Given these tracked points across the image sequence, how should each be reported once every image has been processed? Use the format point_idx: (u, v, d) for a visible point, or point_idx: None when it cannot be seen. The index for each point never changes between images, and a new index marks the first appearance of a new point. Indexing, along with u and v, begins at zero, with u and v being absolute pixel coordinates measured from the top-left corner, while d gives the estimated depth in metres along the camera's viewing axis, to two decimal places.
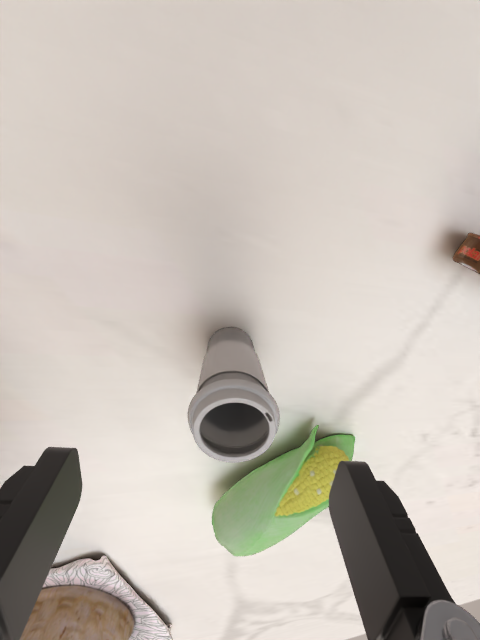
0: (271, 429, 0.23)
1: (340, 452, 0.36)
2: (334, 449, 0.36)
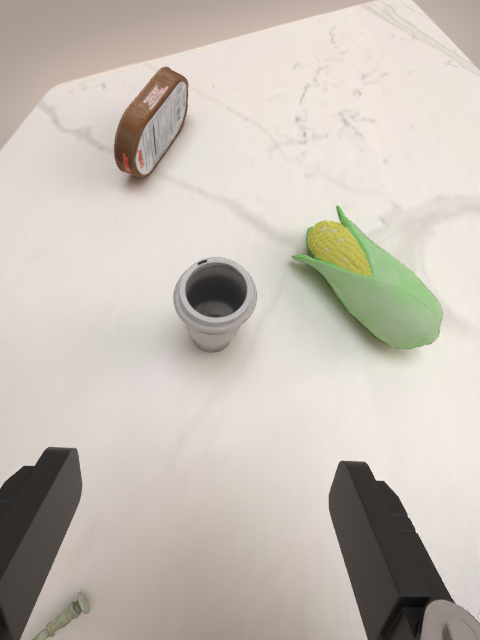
0: (215, 260, 0.28)
1: (310, 232, 0.40)
2: (308, 237, 0.40)
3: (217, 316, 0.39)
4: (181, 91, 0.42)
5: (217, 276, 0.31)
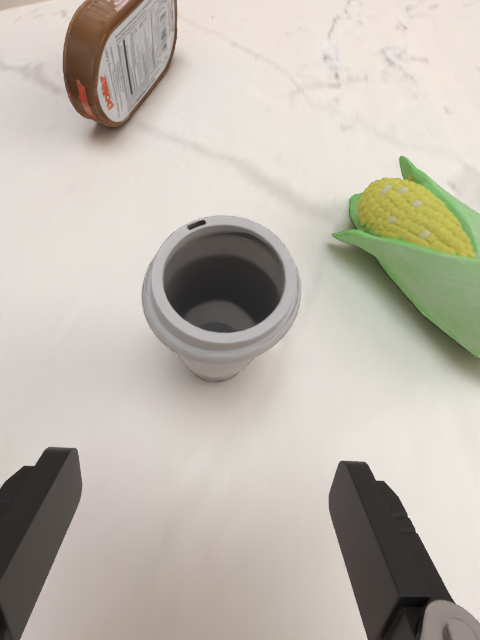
0: (222, 221, 0.14)
1: (361, 196, 0.27)
2: (358, 205, 0.27)
3: (223, 325, 0.25)
4: (167, 1, 0.29)
5: (224, 256, 0.17)
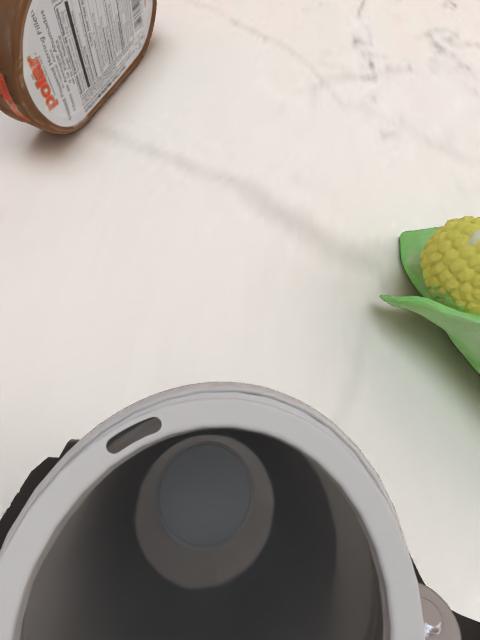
0: (208, 418, 0.05)
1: (428, 243, 0.17)
2: (424, 255, 0.17)
3: (218, 447, 0.16)
4: None
5: None
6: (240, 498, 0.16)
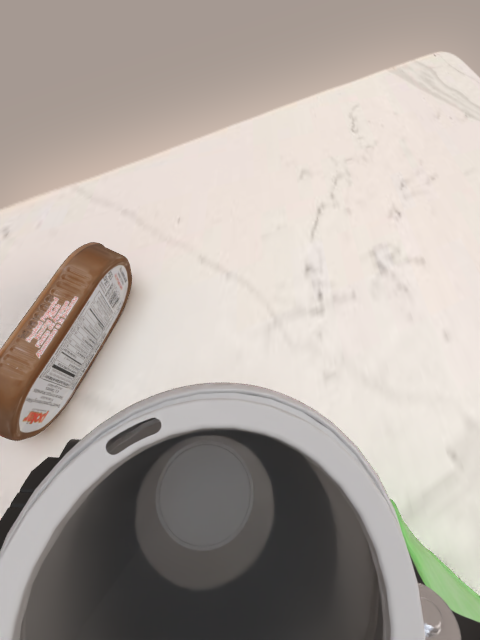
0: (208, 419, 0.05)
1: None
2: None
3: (218, 447, 0.16)
4: (113, 275, 0.25)
5: None
6: (240, 498, 0.15)
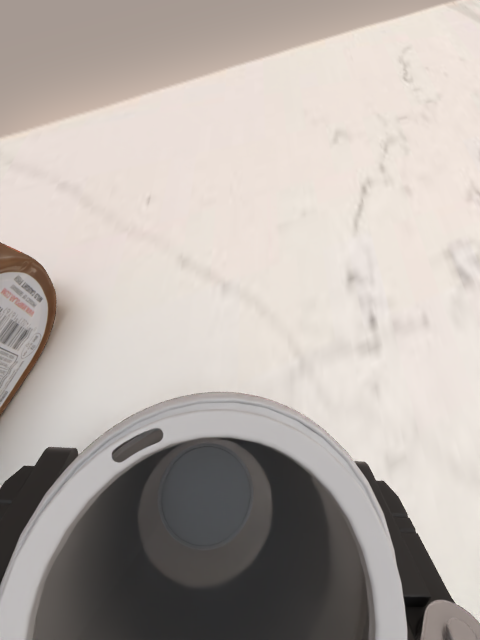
0: (206, 428, 0.06)
1: None
2: None
3: (218, 449, 0.17)
4: None
5: None
6: (239, 499, 0.16)
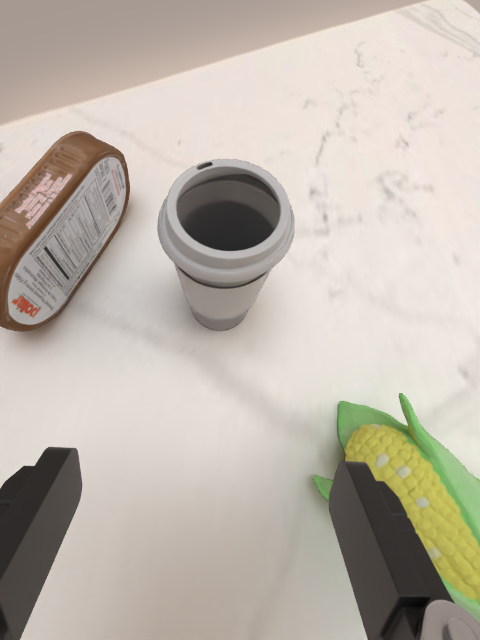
0: (227, 163, 0.17)
1: (349, 443, 0.21)
2: (346, 454, 0.21)
3: None
4: (110, 169, 0.24)
5: (227, 203, 0.20)
6: None
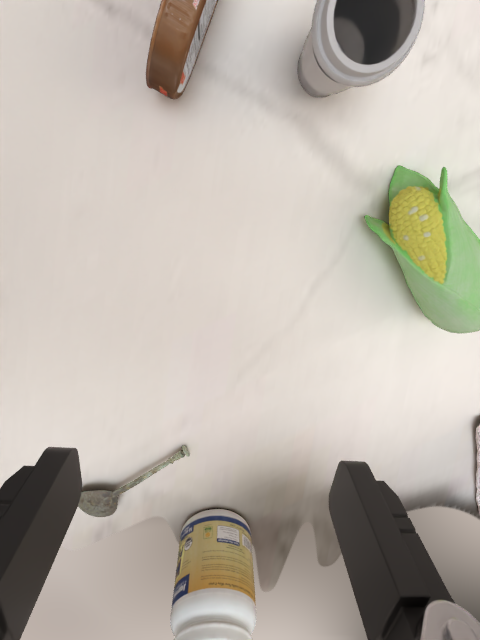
0: None
1: (396, 198, 0.33)
2: (391, 204, 0.33)
3: None
4: None
5: None
6: None
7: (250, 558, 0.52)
